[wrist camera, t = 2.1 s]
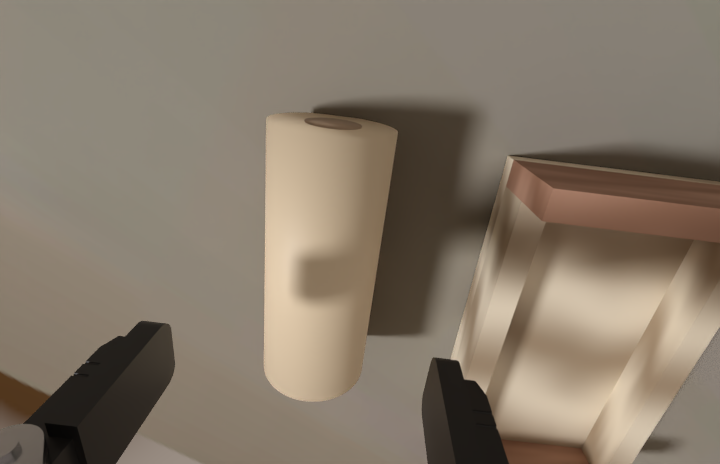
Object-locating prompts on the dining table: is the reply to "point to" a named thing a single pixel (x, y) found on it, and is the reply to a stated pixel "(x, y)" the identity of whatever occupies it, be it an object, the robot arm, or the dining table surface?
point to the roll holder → (589, 306)
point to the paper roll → (322, 247)
